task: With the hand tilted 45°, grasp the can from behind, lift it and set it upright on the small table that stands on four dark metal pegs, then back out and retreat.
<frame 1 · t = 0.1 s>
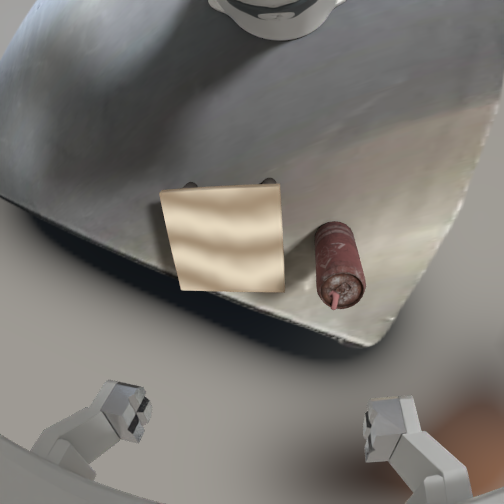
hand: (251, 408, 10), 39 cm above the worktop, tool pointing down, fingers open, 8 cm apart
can: (333, 237, 49), on the worktop
small table: (233, 222, 50), on the worktop
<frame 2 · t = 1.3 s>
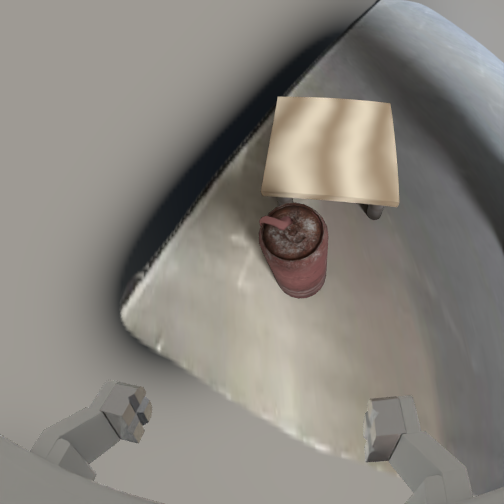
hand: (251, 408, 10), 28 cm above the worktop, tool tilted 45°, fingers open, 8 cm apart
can: (300, 275, 40), on the worktop
small table: (332, 172, 44), on the worktop
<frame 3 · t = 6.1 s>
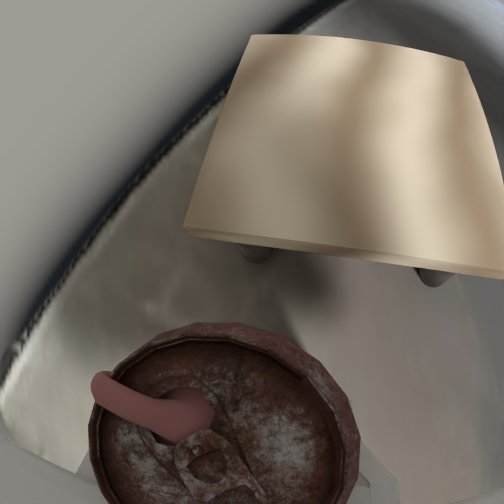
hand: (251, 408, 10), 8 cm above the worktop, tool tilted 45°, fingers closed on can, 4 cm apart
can: (273, 401, 18), on the worktop, touching gripper
small table: (353, 182, 22), on the worktop
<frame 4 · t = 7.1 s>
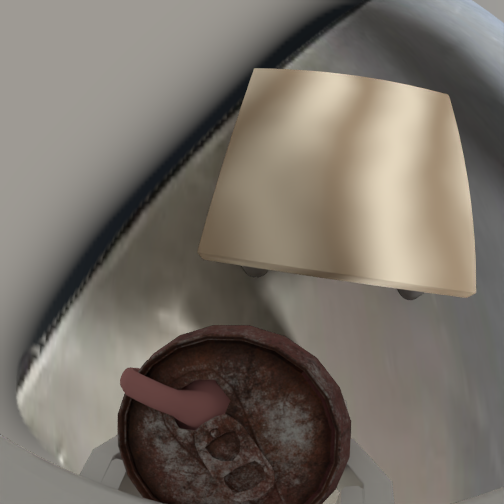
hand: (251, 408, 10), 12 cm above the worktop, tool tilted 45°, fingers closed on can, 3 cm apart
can: (272, 400, 19), point 2 cm above the worktop, touching gripper
small table: (342, 205, 25), on the worktop
when the fingers open (17 cm above the worktop, at t = 11.2 s): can stays where it is, resting on small table.
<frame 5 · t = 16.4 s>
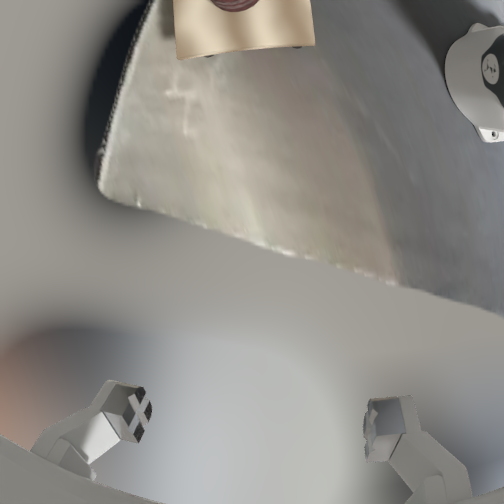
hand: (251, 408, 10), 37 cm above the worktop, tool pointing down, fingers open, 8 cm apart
small table: (248, 7, 34), on the worktop
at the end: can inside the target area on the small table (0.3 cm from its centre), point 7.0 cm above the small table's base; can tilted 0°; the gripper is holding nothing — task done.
